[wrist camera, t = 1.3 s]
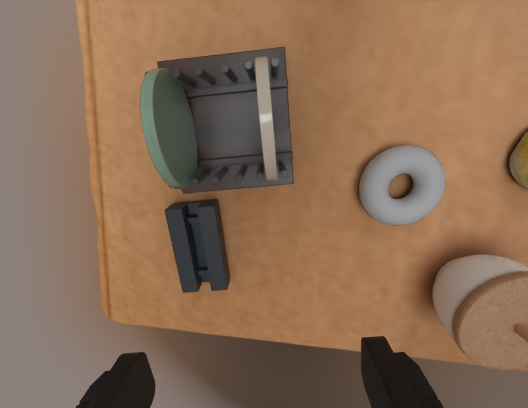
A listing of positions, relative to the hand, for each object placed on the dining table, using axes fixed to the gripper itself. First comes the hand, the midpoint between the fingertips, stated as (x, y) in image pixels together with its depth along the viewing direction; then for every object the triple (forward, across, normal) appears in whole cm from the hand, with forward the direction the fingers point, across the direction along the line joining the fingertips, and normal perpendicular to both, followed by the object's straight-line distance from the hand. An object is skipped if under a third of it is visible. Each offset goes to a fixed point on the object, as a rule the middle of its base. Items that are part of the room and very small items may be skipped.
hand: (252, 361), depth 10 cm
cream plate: (+24, -1, -8) cm, 26 cm away
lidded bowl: (+26, -26, +16) cm, 40 cm away
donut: (+26, -16, +1) cm, 31 cm away
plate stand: (+26, +10, +7) cm, 28 cm away
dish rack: (+26, +3, -8) cm, 27 cm away
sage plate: (+24, +8, -8) cm, 27 cm away
